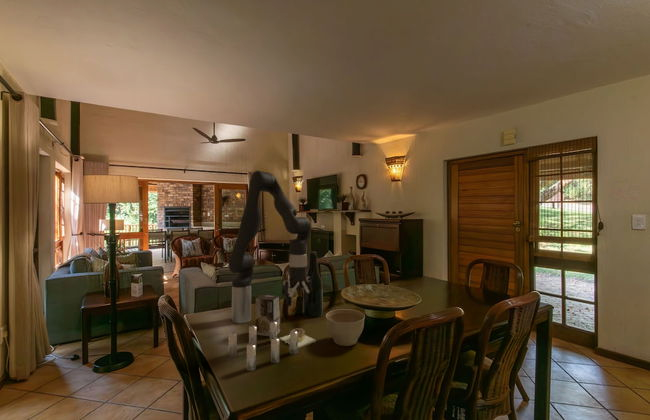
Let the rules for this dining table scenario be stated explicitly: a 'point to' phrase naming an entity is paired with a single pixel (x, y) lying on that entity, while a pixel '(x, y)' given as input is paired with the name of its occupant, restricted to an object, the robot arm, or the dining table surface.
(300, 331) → the brass nut
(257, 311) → the coffee box
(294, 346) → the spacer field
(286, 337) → the pad
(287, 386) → the dining table surface
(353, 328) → the planter bowl
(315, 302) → the beer bottle
